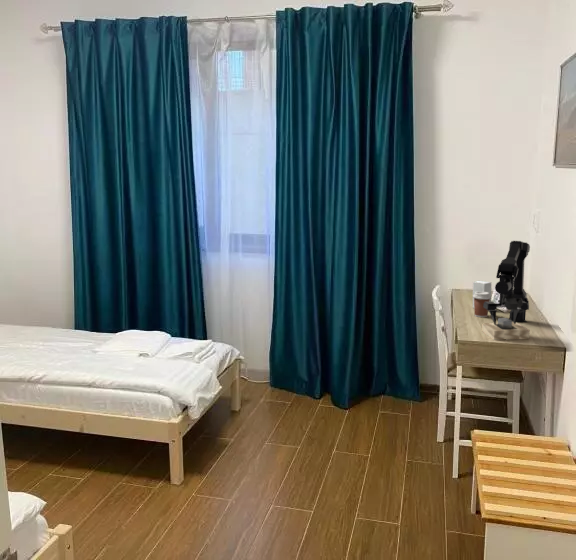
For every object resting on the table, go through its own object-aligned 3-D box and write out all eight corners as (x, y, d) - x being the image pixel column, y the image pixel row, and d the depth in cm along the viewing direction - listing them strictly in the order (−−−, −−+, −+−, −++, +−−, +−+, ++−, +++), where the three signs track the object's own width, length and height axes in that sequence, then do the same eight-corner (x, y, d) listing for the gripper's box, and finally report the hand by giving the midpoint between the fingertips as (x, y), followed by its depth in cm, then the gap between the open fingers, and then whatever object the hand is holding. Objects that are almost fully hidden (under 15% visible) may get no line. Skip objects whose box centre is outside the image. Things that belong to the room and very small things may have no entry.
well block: (515, 330, 284) (516, 322, 283) (529, 338, 270) (529, 330, 270) (481, 331, 283) (482, 323, 282) (493, 339, 269) (494, 331, 269)
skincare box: (491, 309, 327) (492, 282, 324) (484, 311, 323) (485, 283, 321) (478, 306, 333) (480, 279, 331) (471, 308, 330) (472, 281, 328)
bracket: (505, 332, 281) (506, 317, 280) (513, 337, 273) (513, 322, 272) (497, 332, 281) (498, 318, 279) (504, 337, 273) (505, 322, 272)
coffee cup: (494, 316, 310) (495, 293, 308) (478, 318, 308) (479, 295, 305) (483, 313, 319) (484, 290, 317) (468, 314, 316) (469, 291, 314)
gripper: (493, 294, 266) (491, 329, 268) (535, 293, 267) (532, 327, 270) (483, 289, 277) (482, 322, 279) (523, 288, 278) (521, 321, 280)
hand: (504, 323), depth 277 cm, fingers open, 9 cm apart
